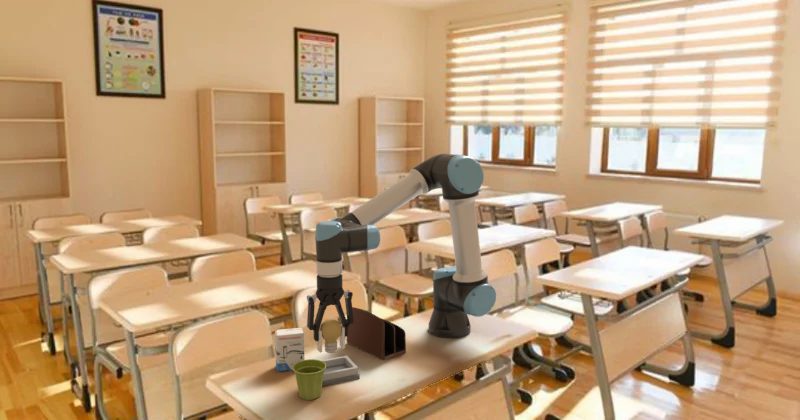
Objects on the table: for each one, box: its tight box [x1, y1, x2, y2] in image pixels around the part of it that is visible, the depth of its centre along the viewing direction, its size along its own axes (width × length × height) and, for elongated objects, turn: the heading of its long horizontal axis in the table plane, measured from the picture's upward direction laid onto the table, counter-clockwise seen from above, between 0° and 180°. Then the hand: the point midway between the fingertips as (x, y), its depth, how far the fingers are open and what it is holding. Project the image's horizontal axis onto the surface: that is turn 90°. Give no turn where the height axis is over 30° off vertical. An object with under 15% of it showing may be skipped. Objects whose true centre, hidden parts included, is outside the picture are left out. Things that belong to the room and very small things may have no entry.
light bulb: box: [320, 318, 342, 354], centre depth 180 cm, size 6×6×10 cm
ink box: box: [274, 327, 305, 372], centre depth 187 cm, size 9×5×12 cm, turn 105°
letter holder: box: [346, 306, 407, 361], centre depth 201 cm, size 10×20×14 cm, turn 41°
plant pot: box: [292, 358, 326, 401], centre depth 168 cm, size 9×9×9 cm
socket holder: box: [320, 355, 361, 387], centre depth 181 cm, size 13×12×3 cm
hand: (331, 348), depth 180 cm, fingers closed on light bulb, 6 cm apart
